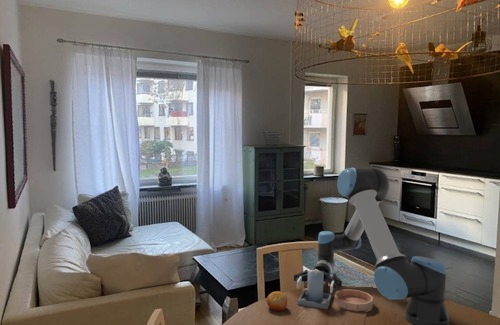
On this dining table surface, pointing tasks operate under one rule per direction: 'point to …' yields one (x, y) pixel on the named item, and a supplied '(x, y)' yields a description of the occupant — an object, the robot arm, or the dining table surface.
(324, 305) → the parts tray
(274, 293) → the fruit
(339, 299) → the bowl
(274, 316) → the dining table surface
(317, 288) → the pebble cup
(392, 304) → the dining table surface
